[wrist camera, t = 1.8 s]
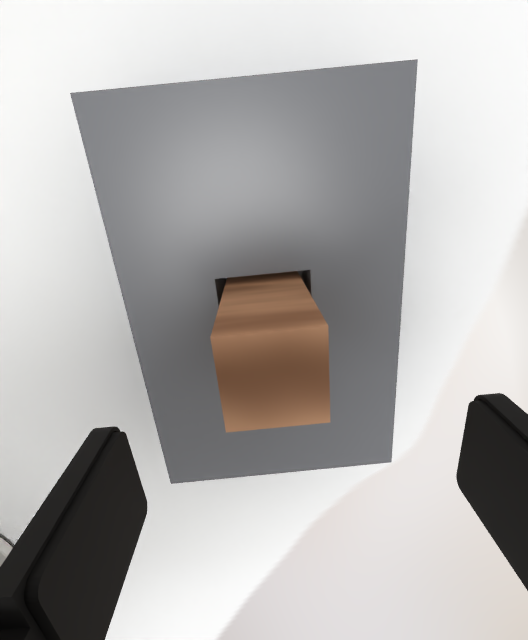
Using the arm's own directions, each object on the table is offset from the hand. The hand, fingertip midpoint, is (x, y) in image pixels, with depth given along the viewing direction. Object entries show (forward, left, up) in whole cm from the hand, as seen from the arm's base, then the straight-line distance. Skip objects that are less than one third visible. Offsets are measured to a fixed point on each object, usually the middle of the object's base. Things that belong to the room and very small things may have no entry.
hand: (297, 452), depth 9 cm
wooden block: (0, 0, -17) cm, 17 cm away
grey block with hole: (0, 0, -17) cm, 17 cm away
